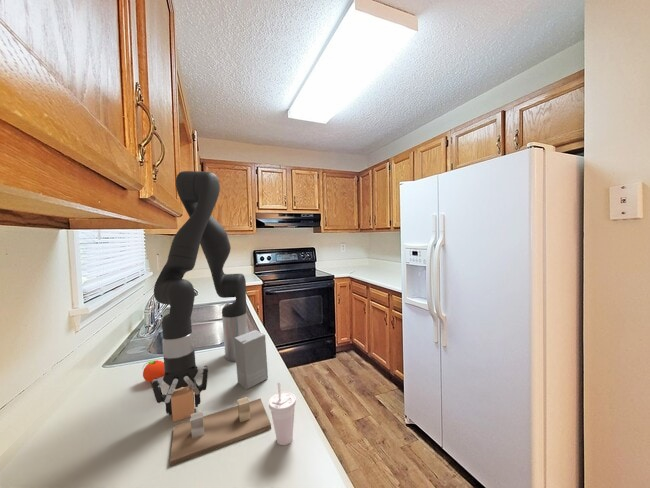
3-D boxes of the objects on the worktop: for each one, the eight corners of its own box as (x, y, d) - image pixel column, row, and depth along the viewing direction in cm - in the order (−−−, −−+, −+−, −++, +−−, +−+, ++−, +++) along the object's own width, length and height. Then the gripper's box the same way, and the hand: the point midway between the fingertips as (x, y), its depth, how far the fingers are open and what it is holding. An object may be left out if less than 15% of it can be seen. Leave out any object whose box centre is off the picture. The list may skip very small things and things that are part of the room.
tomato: (135, 387, 89) (133, 366, 88) (150, 375, 96) (148, 356, 95) (158, 387, 88) (156, 366, 88) (171, 375, 95) (170, 355, 95)
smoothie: (269, 433, 65) (265, 378, 64) (294, 425, 68) (291, 372, 67) (273, 454, 59) (269, 393, 58) (301, 444, 62) (298, 385, 61)
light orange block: (174, 410, 76) (172, 387, 75) (194, 404, 78) (192, 382, 78) (172, 422, 71) (170, 398, 71) (194, 415, 73) (192, 392, 73)
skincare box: (258, 372, 94) (255, 328, 93) (269, 379, 89) (266, 333, 88) (235, 383, 88) (232, 336, 87) (246, 391, 83) (243, 341, 82)
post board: (174, 429, 68) (172, 408, 68) (260, 401, 78) (259, 383, 78) (170, 465, 58) (168, 441, 57) (271, 428, 67) (269, 407, 67)
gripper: (207, 339, 80) (211, 394, 81) (150, 351, 74) (155, 410, 75) (208, 349, 73) (212, 408, 74) (145, 363, 67) (151, 427, 68)
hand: (184, 409), depth 75 cm, fingers open, 5 cm apart
